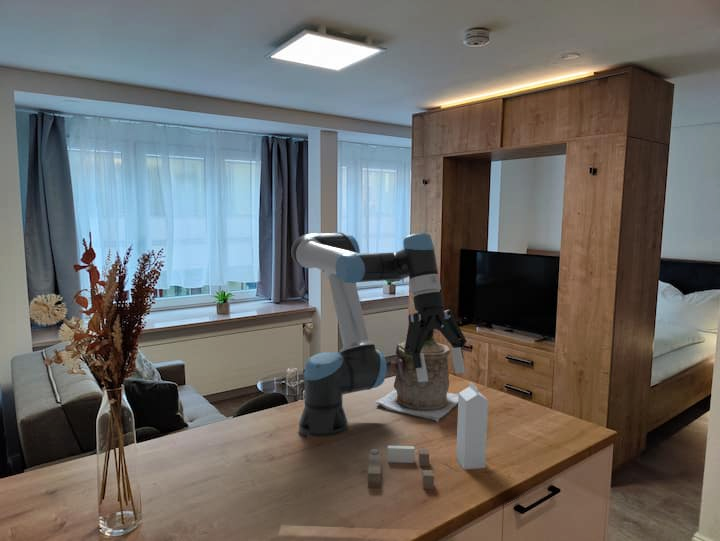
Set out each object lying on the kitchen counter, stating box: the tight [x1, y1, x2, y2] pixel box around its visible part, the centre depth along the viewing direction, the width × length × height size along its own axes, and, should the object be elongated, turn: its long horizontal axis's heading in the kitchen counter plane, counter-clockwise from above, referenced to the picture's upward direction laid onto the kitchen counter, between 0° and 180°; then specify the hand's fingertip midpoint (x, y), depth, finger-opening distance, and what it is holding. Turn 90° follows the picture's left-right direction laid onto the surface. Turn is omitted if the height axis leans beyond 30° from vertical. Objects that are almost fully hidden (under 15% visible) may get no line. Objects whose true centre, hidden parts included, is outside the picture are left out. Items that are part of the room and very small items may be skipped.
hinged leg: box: [367, 448, 382, 489], centre depth 122 cm, size 12×3×4 cm, turn 178°
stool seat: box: [387, 445, 435, 490], centre depth 123 cm, size 17×15×5 cm
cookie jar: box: [375, 321, 459, 423], centre depth 170 cm, size 25×25×32 cm
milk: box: [455, 381, 489, 470], centre depth 130 cm, size 6×6×22 cm
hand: (442, 377), depth 120 cm, fingers open, 13 cm apart
